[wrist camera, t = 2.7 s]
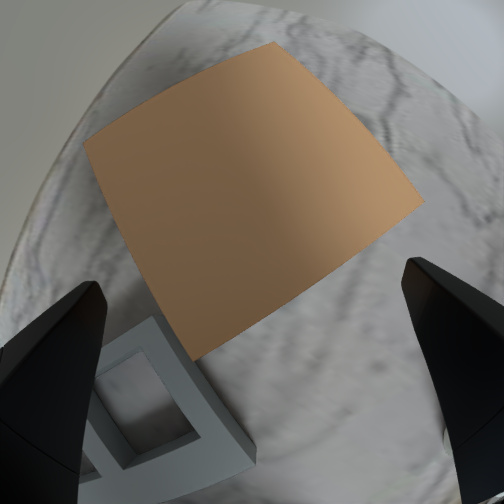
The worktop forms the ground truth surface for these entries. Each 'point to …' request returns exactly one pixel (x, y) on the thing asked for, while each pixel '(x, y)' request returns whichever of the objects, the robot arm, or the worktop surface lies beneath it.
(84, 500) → the socket block
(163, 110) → the plug
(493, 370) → the robot arm
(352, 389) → the worktop surface
